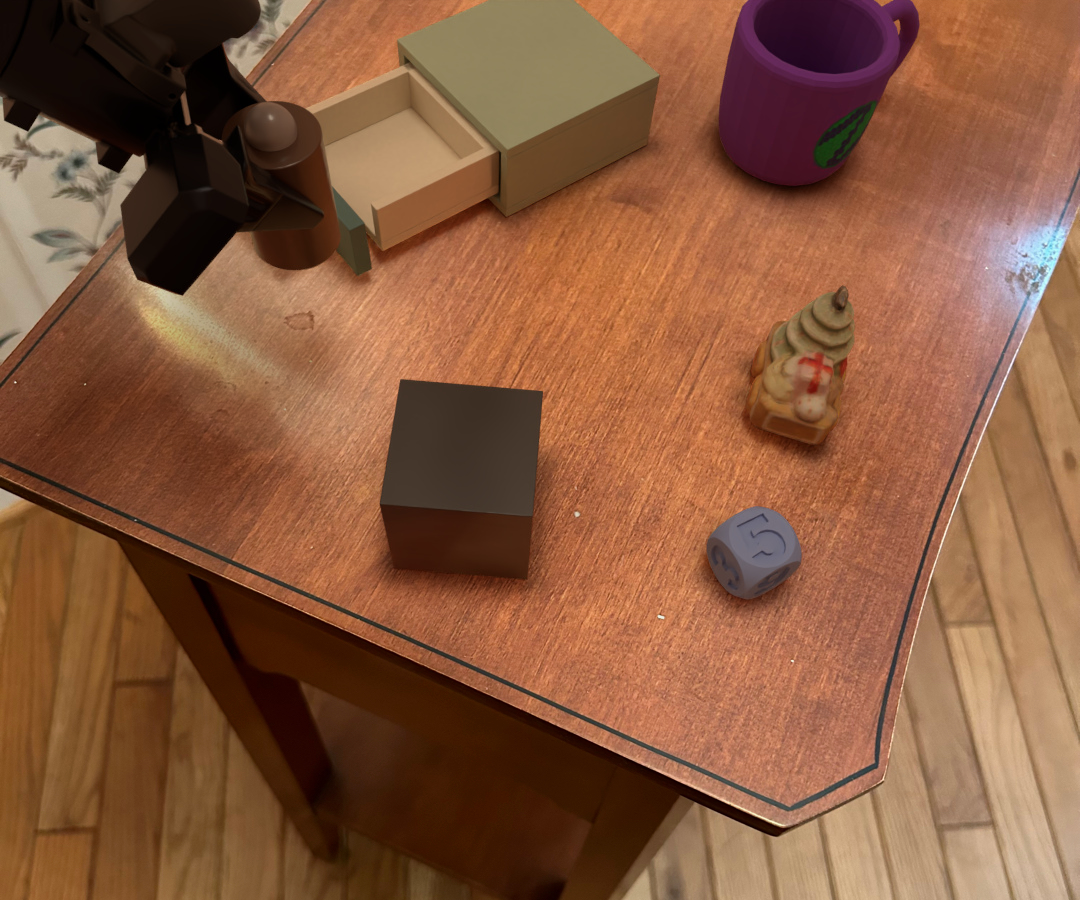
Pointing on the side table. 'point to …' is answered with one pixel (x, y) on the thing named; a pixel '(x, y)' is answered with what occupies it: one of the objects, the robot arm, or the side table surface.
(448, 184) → the drawer
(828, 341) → the ornament
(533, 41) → the cabinet
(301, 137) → the pepper mill
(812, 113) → the mug
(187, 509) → the side table surface
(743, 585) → the decorative dice
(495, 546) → the block
